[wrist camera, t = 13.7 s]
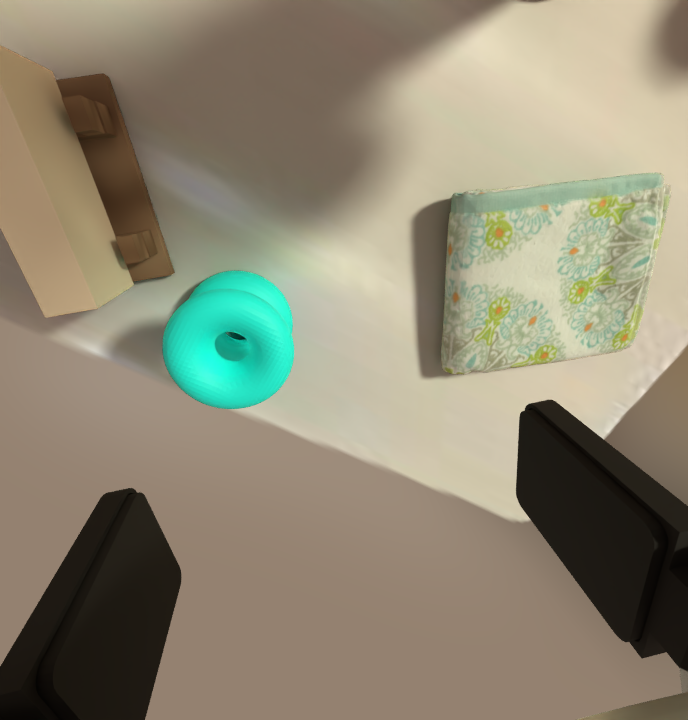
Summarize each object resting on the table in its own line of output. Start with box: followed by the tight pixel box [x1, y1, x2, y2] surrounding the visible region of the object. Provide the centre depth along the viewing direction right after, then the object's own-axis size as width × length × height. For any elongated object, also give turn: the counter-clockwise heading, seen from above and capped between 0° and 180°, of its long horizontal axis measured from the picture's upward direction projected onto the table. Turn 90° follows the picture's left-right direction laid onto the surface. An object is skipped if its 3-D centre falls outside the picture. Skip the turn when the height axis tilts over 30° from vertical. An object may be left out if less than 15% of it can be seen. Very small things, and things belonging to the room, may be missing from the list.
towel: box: [441, 173, 671, 374], centre depth 39 cm, size 18×21×5 cm
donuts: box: [162, 271, 294, 409], centre depth 34 cm, size 10×10×10 cm
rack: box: [56, 74, 175, 282], centre depth 30 cm, size 15×9×5 cm, turn 9°
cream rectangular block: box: [0, 45, 134, 318], centre depth 26 cm, size 15×4×7 cm, turn 9°
